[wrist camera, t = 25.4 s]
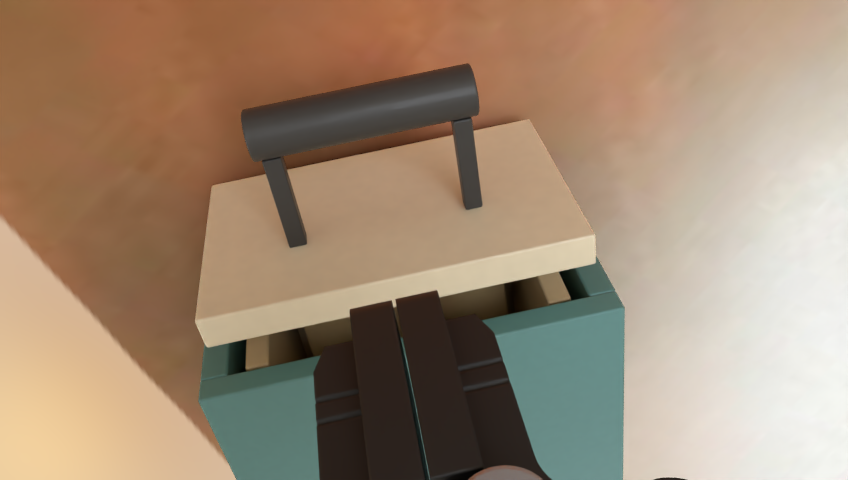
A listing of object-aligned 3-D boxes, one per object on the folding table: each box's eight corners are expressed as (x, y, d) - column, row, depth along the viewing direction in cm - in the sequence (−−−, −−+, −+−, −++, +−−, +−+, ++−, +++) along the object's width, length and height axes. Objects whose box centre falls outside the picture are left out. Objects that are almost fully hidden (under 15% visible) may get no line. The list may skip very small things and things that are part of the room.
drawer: (165, 64, 27) (132, 185, 21) (520, -8, 27) (593, 88, 21) (292, 401, 38) (296, 548, 31) (546, 345, 38) (600, 479, 32)
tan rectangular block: (318, 339, 34) (321, 380, 32) (289, 250, 31) (289, 289, 29) (497, 298, 34) (511, 337, 32) (485, 206, 31) (499, 243, 29)
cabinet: (216, 223, 32) (197, 401, 24) (541, 154, 33) (625, 307, 25) (298, 435, 40) (303, 619, 33) (556, 378, 41) (622, 546, 33)
